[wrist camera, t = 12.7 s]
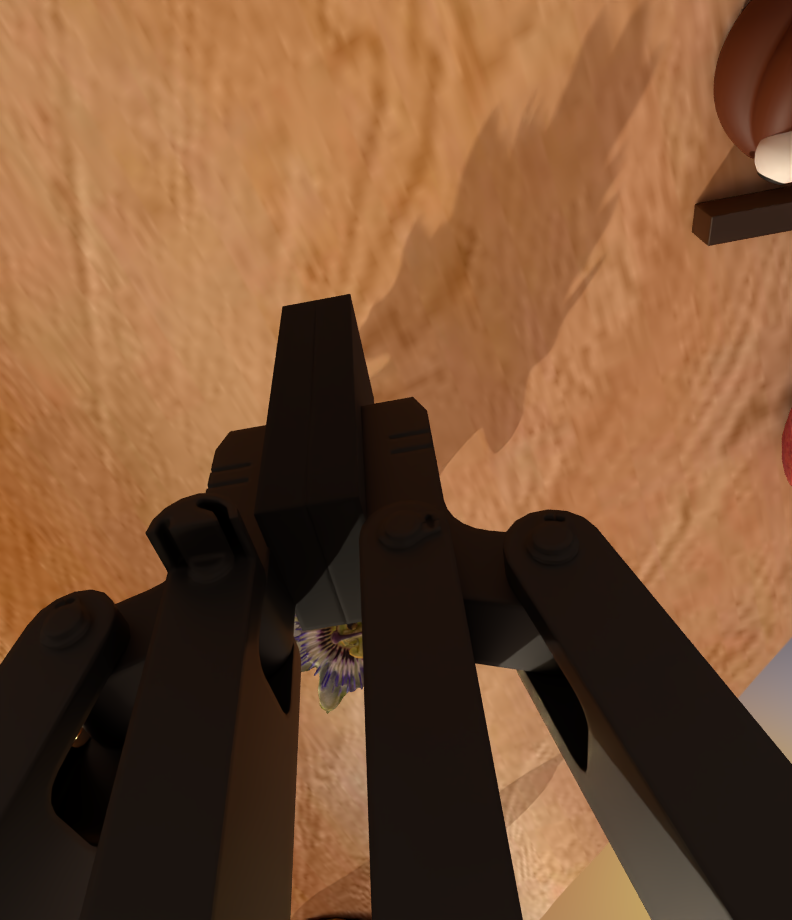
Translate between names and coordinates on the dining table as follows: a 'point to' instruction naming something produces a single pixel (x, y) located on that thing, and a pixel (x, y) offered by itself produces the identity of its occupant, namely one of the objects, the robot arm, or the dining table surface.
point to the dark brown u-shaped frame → (743, 216)
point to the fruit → (787, 448)
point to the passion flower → (332, 659)
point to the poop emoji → (759, 87)
